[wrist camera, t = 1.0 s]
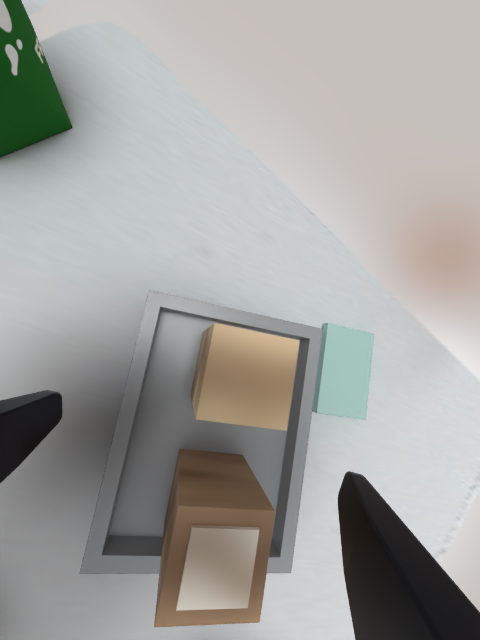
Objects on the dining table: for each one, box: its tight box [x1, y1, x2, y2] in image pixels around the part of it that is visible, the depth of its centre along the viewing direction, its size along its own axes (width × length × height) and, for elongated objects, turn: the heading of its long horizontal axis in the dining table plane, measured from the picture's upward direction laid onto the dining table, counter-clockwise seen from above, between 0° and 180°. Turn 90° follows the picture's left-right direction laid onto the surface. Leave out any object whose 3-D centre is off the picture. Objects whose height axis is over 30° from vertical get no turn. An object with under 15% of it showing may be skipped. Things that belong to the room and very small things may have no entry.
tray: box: [79, 290, 322, 574], centre depth 19 cm, size 18×14×2 cm
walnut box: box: [154, 449, 275, 627], centre depth 15 cm, size 5×5×7 cm
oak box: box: [190, 323, 300, 431], centre depth 17 cm, size 5×5×7 cm
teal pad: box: [312, 323, 374, 420], centre depth 23 cm, size 8×5×1 cm, turn 169°
